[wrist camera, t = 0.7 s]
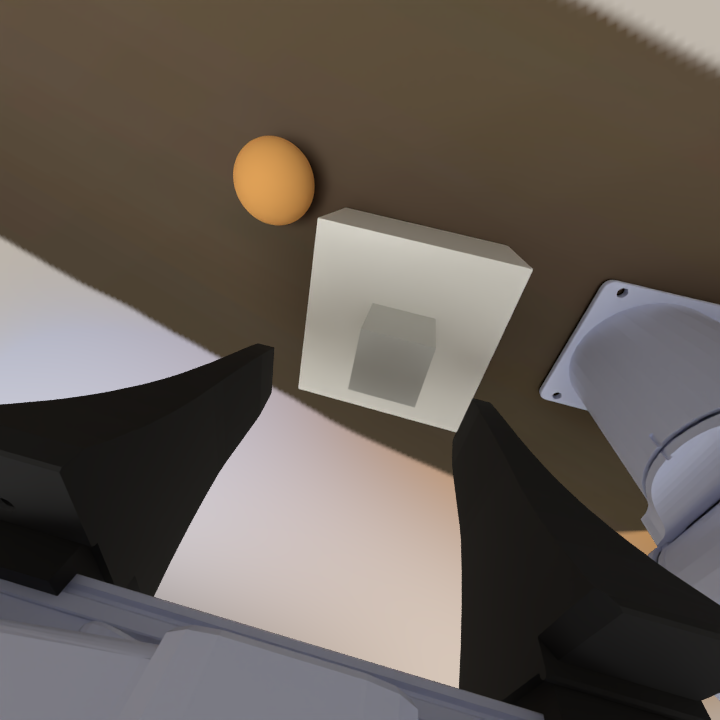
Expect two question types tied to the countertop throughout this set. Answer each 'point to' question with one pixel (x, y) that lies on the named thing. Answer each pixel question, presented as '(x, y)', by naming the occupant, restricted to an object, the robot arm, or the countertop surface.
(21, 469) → the robot arm
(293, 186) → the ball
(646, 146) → the countertop surface
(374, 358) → the grey knobbed block
